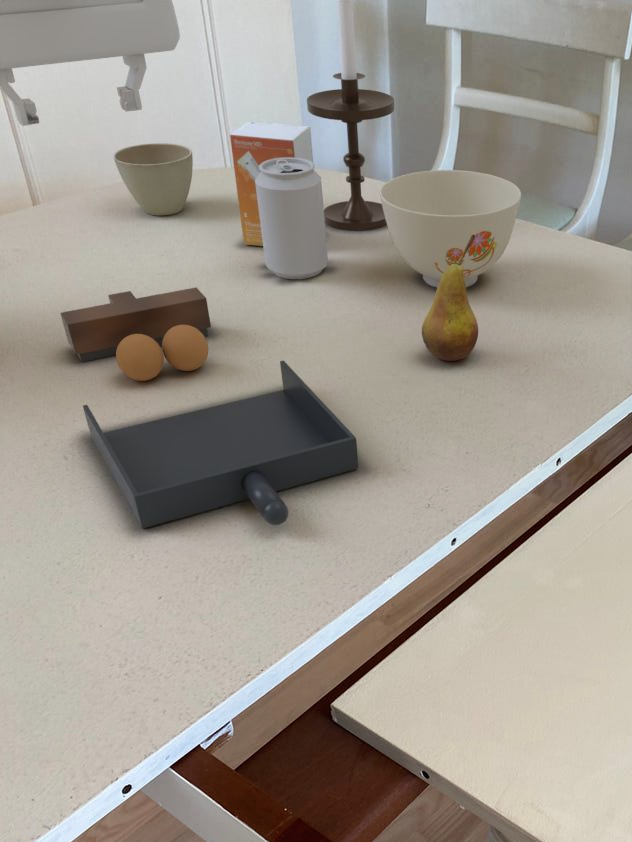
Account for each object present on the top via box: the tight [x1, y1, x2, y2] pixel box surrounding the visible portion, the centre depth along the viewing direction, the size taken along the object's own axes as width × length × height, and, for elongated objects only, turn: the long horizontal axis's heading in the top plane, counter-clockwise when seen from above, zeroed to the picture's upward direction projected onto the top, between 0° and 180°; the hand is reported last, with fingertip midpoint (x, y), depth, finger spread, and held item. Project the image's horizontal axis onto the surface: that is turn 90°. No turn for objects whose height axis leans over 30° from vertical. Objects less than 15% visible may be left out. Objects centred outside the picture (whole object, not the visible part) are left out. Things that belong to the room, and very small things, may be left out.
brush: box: [60, 287, 212, 363], centre depth 102 cm, size 14×8×4 cm, turn 120°
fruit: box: [421, 235, 479, 362], centre depth 97 cm, size 6×6×12 cm
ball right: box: [161, 325, 209, 372], centre depth 96 cm, size 4×4×4 cm
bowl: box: [379, 169, 522, 289], centre depth 113 cm, size 16×16×10 cm
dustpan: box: [82, 360, 359, 529], centre depth 83 cm, size 22×19×3 cm
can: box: [255, 157, 329, 280], centre depth 113 cm, size 8×8×12 cm
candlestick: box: [306, 0, 395, 232], centre depth 119 cm, size 11×11×35 cm
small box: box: [229, 121, 315, 247], centre depth 120 cm, size 8×6×13 cm
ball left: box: [115, 334, 165, 382], centre depth 95 cm, size 4×4×4 cm
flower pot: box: [113, 142, 194, 216], centre depth 130 cm, size 10×10×7 cm
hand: (81, 116), depth 89 cm, fingers open, 8 cm apart
